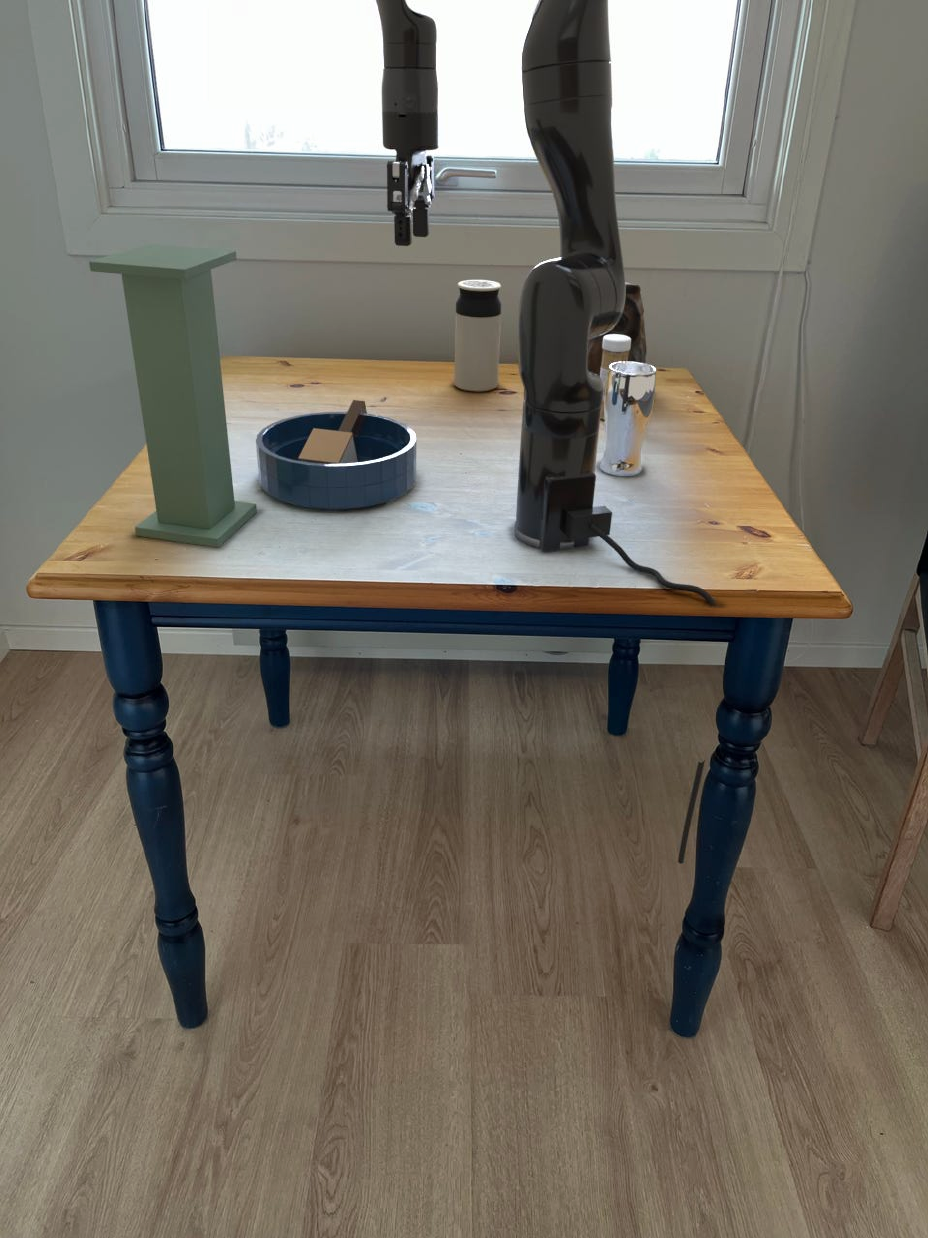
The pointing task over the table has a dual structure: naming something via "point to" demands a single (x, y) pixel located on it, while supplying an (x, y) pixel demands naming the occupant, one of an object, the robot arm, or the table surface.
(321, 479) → the bowl
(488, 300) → the travel mug
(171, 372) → the stand
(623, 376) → the beer glass
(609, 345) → the sprinkles bottle
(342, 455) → the mallet with brown handle
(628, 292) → the owl
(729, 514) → the table surface
